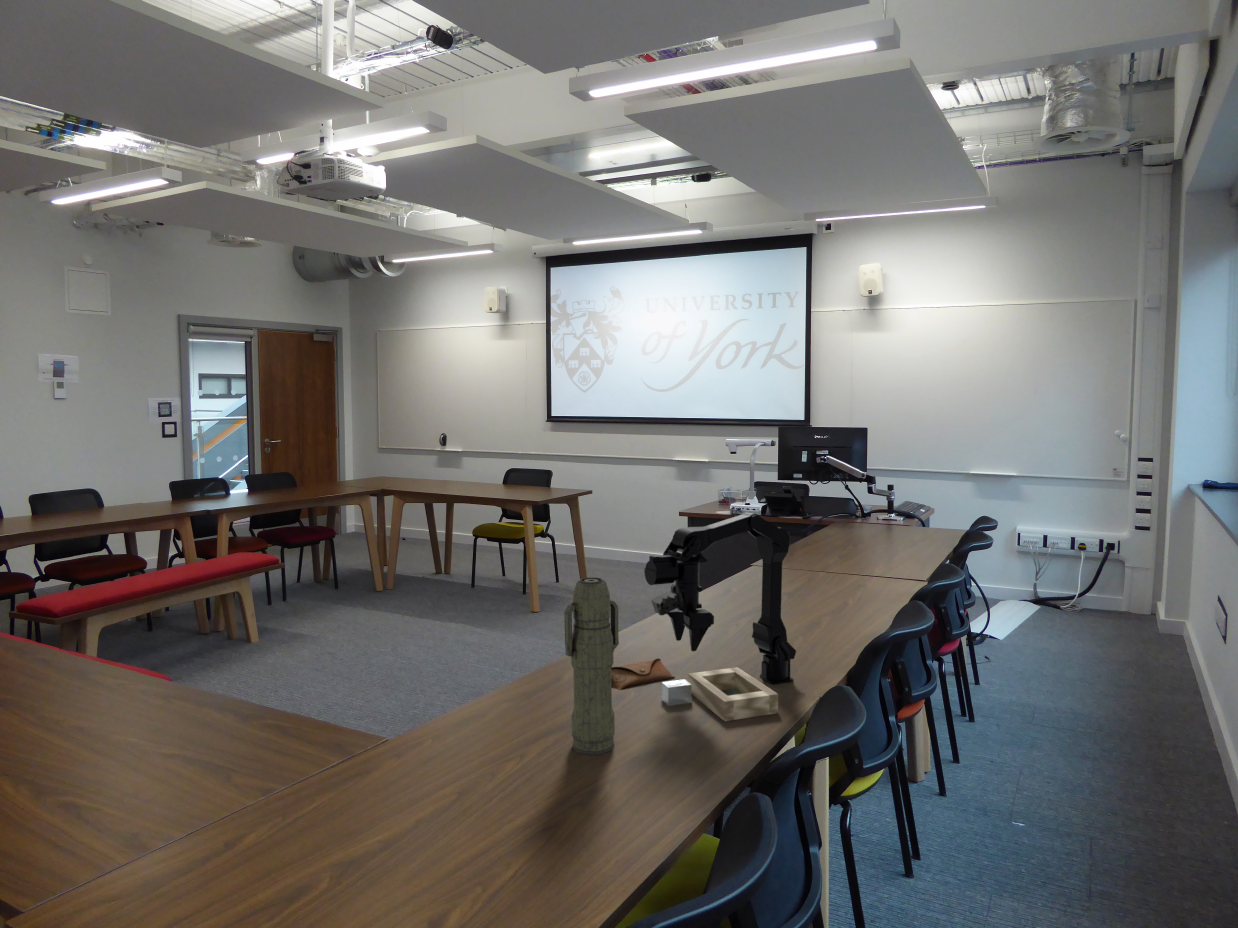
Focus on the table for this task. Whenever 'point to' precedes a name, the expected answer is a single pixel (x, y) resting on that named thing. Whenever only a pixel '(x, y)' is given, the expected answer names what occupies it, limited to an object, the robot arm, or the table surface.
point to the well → (733, 694)
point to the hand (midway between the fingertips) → (685, 645)
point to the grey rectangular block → (676, 692)
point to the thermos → (592, 664)
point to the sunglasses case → (639, 674)
